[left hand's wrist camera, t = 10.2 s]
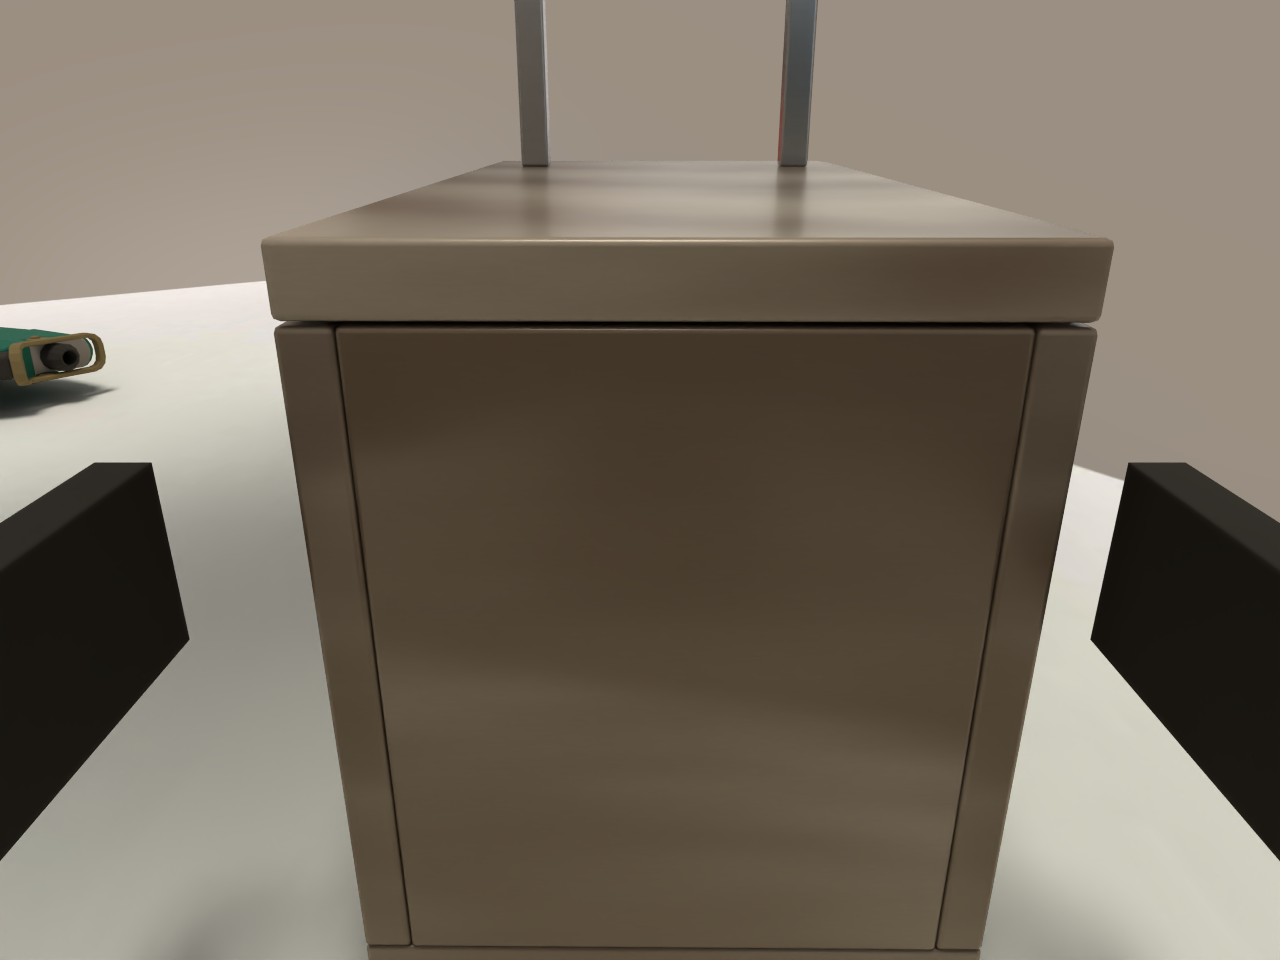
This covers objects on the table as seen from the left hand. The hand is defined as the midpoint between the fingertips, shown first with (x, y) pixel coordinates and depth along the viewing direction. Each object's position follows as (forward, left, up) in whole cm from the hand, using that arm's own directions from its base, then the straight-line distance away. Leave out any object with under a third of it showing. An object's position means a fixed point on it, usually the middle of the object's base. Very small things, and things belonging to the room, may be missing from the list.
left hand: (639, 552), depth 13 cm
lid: (+6, -5, +3) cm, 9 cm away
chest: (+6, -5, -7) cm, 10 cm away
